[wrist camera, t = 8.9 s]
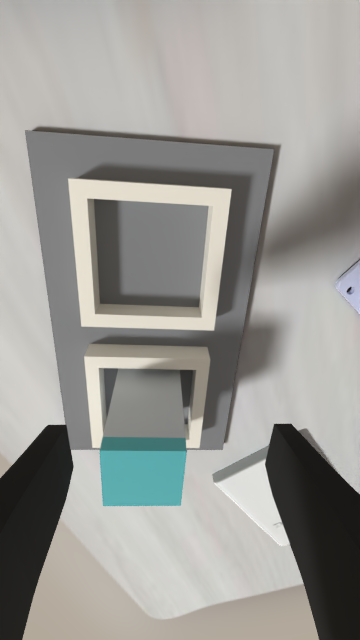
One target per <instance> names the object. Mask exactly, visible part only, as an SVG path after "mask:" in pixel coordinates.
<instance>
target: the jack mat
mask: <svg viewBox="0 0 360 640" xmlns="http://www.w3.org/2000/svg"><path fill="white" fill-rule="evenodd" d="M25 134H26V141H27V148H28V156H29V163H30V170H31V177H32V185H33V192H34V199H35V206H36V214H37V221H38V228H39V235H40V243H41V250H42V257H43V264H44V272H45V279H46V286H47V293H48V301H49V308H50V315H51V322H52V330H53V337H54V344H55V351H56V359H57V366H58V373H59V381H60V388H61V395H62V402H63V410H64V417H65V424H66V425H67V431H68V437H69V443H70V449H71V450H100V448H92V438H91V427H90V416H89V405H88V394H87V383H86V372H85V361H84V356H85V353H86V351H87V349H88V346H89V344H120V345H158V346H195V347H207V348H208V352H209V356H210V367H209V375H208V383H207V391H206V399H205V407H204V415H203V423H202V431H201V439H200V448H186V449H187V450H223V444H224V438H225V433H226V427H227V421H228V415H229V409H230V403H231V398H232V392H233V386H234V380H235V374H236V368H237V363H238V357H239V351H240V345H241V339H242V333H243V328H244V322H245V316H246V310H247V304H248V298H249V293H250V287H251V281H252V275H253V269H254V264H255V258H256V252H257V246H258V240H259V234H260V229H261V223H262V217H263V211H264V205H265V199H266V194H267V188H268V182H269V176H270V170H271V164H272V159H273V153H274V149H264V148H251V147H238V146H225V145H212V144H199V143H186V142H173V141H159V140H146V139H133V138H120V137H107V136H94V135H81V134H67V133H54V132H41V131H28V130H25ZM68 178H82V179H98V180H113V181H128V182H143V183H159V184H174V185H189V186H204V187H219V188H228V189H232V191H231V199H230V207H229V215H228V223H227V231H226V239H225V247H224V255H223V263H222V271H221V279H220V287H219V295H218V303H217V311H216V319H215V327H214V331H211V330H179V329H146V328H113V327H81V317H80V306H79V295H78V284H77V272H76V261H75V250H74V239H73V228H72V217H71V206H70V195H69V184H68ZM208 208H209V206H204V205H187V204H171V203H155V202H138V201H122V200H106V199H94V210H95V227H96V244H97V262H98V279H99V296H100V304H120V305H148V306H176V307H199V301H200V291H201V281H202V270H203V260H204V250H205V239H206V229H207V218H208ZM117 372H118V368H104V381H105V399H106V416H108V412H109V407H110V403H111V399H112V394H113V390H114V386H115V381H116V377H117ZM192 374H193V370H180V379H181V391H182V402H183V414H184V424H188V416H189V405H190V395H191V384H192Z"/></svg>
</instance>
